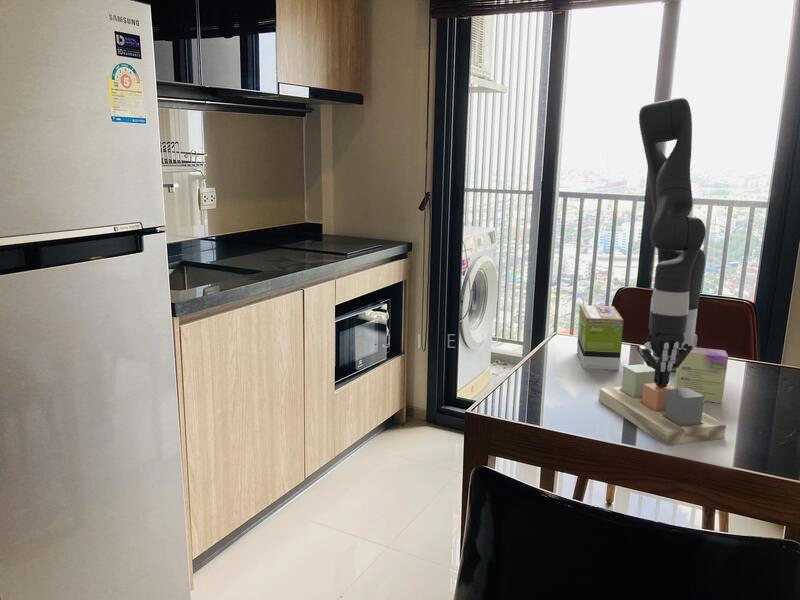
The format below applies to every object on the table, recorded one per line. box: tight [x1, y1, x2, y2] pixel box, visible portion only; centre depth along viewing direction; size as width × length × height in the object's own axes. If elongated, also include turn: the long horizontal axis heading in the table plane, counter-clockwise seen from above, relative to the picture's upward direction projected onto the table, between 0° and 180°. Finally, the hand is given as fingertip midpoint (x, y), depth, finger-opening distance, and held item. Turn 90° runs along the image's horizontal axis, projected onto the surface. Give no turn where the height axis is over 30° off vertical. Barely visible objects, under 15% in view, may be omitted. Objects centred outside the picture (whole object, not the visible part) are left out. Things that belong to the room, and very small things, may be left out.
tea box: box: [576, 304, 624, 371], centre depth 183 cm, size 15×10×15 cm, turn 172°
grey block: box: [665, 388, 705, 427], centre depth 137 cm, size 5×5×6 cm
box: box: [673, 346, 729, 404], centre depth 158 cm, size 10×6×12 cm, turn 71°
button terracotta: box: [642, 383, 675, 412], centre depth 145 cm, size 5×5×6 cm
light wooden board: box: [598, 386, 727, 446], centre depth 146 cm, size 14×25×3 cm, turn 15°
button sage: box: [620, 363, 655, 399], centre depth 152 cm, size 5×5×6 cm
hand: (660, 386), depth 144 cm, fingers closed
